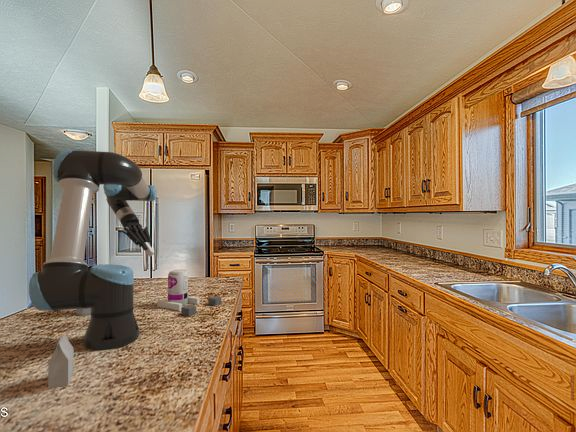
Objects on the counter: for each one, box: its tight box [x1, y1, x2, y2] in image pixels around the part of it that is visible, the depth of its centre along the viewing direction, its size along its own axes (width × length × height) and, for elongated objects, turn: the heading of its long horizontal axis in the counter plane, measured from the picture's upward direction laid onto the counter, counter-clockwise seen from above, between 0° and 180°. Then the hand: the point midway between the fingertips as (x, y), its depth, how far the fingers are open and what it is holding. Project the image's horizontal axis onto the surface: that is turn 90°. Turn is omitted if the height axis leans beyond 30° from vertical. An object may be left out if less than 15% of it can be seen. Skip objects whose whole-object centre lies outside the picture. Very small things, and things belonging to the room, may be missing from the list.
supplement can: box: [167, 269, 189, 307], centre depth 136 cm, size 8×8×15 cm
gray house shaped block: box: [47, 333, 75, 391], centre depth 73 cm, size 4×7×10 cm, turn 26°
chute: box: [156, 295, 222, 317], centre depth 134 cm, size 20×22×3 cm
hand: (151, 254), depth 143 cm, fingers closed
